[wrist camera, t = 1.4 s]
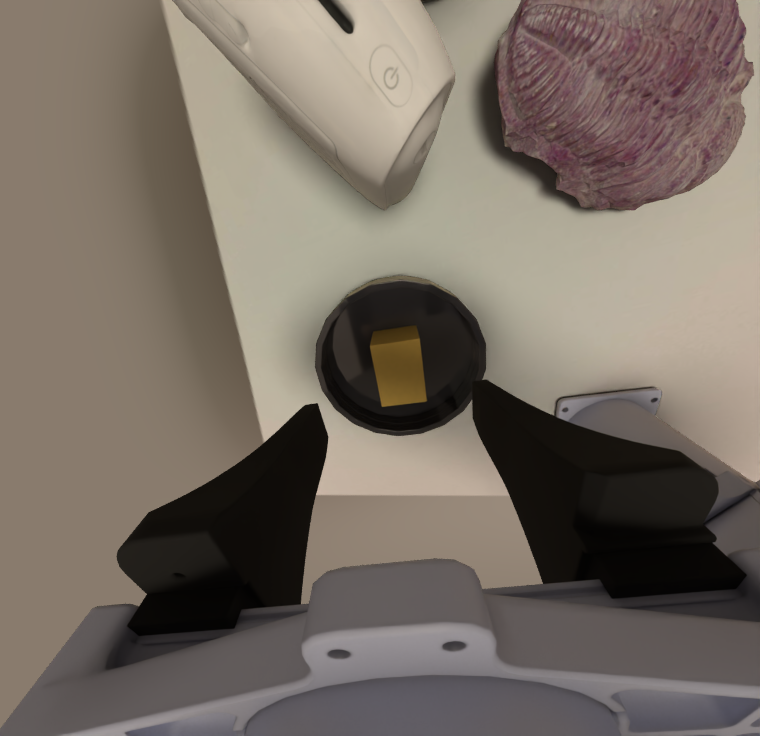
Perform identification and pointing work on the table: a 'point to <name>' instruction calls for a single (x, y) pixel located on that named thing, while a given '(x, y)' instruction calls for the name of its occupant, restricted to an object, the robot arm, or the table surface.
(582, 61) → the fossil
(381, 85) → the photo printer
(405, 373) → the cheese
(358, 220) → the table surface
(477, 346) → the pan
